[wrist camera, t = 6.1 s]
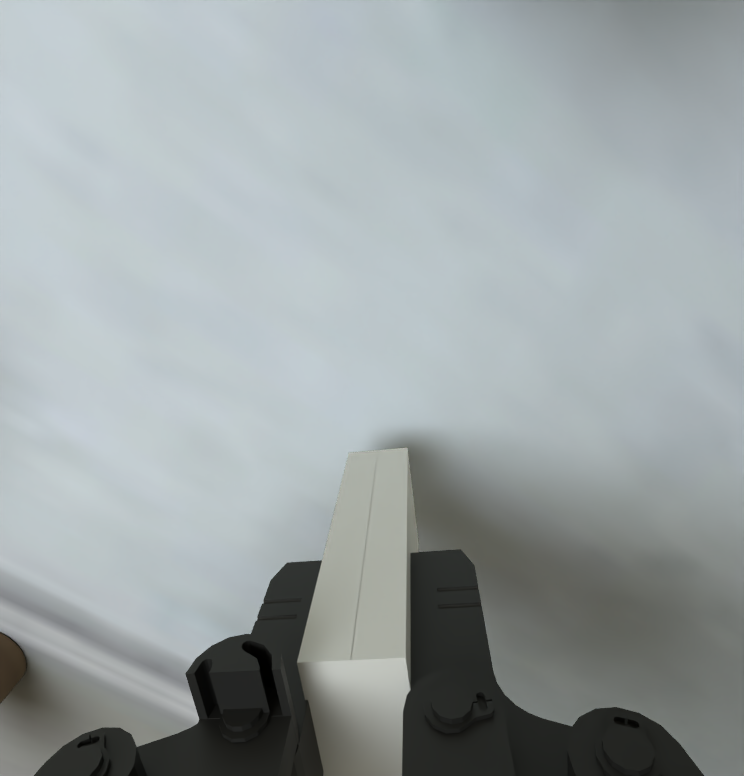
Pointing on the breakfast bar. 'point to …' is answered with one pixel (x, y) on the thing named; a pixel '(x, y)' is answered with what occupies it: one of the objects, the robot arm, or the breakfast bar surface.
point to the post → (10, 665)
